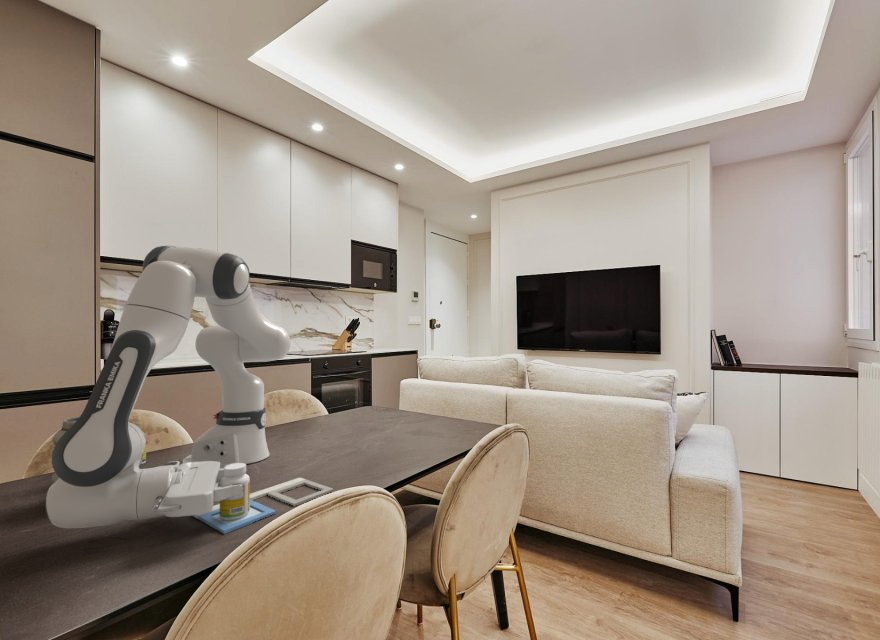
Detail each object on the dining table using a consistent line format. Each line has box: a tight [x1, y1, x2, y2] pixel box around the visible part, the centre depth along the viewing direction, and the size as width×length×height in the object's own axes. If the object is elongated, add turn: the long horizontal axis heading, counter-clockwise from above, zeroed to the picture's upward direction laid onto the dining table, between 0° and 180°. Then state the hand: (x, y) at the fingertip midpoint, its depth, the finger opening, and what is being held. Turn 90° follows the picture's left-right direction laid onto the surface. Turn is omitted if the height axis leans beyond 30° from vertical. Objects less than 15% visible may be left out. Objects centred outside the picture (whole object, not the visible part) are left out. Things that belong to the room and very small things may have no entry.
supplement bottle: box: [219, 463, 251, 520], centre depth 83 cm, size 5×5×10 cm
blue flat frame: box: [192, 477, 335, 535], centre depth 90 cm, size 25×13×1 cm, turn 144°
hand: (242, 480), depth 84 cm, fingers open, 8 cm apart
